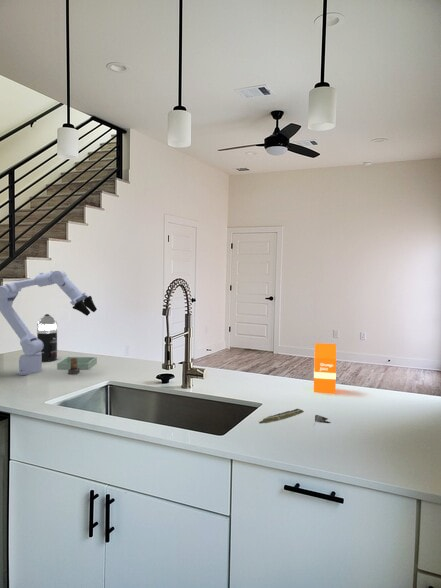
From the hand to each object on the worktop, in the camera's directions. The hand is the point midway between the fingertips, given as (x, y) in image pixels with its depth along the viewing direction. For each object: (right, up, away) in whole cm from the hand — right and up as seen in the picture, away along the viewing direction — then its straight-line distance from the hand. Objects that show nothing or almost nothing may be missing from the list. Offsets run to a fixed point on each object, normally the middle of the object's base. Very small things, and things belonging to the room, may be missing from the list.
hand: (92, 312), depth 199 cm
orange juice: (+104, -32, -20) cm, 111 cm away
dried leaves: (+85, -35, -59) cm, 109 cm away
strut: (-8, -28, -1) cm, 29 cm away
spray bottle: (-34, -27, +31) cm, 54 cm away
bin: (-11, -28, +14) cm, 34 cm away
